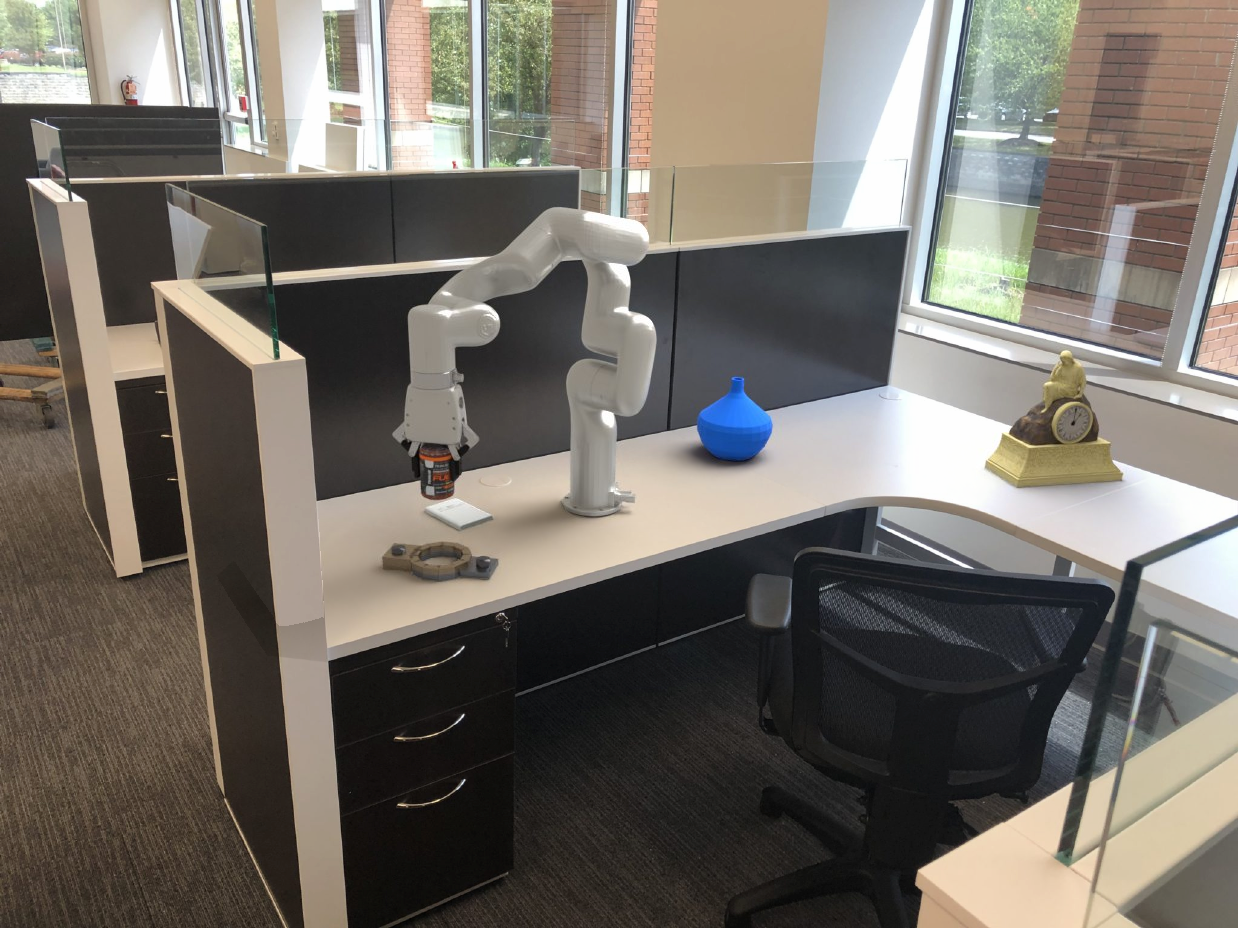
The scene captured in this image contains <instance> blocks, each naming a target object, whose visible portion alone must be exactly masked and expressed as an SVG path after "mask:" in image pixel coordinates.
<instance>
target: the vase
mask: <svg viewBox="0 0 1238 928" xmlns="http://www.w3.org/2000/svg"><path fill="white" fill-rule="evenodd" d="M730 383H731V386H730V389H729V392H728V393H727V394H725V395H724V396H723V397H721V398H720V399H718V400H716V401H714V403H712V404H710V405H708V406H707V407H706V408H703V409H702V410H701V411H700V412H699V414H698V416H697V418H696V429H697V432H698V436H699V439H700V441H701V443H702V445H703V446H704V447H705V449H706V450H707V451H708V452H710V454H712V455H713V456H714V457H716V458H718V459H721V460H725V461H727V460H728V461H745V460H749V459H751V458H753V457H754V456H756V455H758V454H759V453H760V452H761V451H762V450H763V449H764V448H765V447H766V445H767V443H768V441H769V440H770V438H771V435H772V434H773V427H774V426H773V425H774V423H773V421H772V417H771V415H769V414H768V413H767V411H765V410H764V409H762V408H761V407H760V406H759V405H757V404H756V403H755V401H753V400H752V399H750V397H748V396H747V394H746V393H745V390H744V385H745V378H743V377H740V376H734V377H732V378H731V382H730Z"/></svg>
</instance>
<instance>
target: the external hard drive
mask: <svg viewBox="0 0 1238 928" xmlns="http://www.w3.org/2000/svg"><path fill="white" fill-rule="evenodd" d="M424 513H427V514H428V515H429V516H432V517H434V518H436V519H437V520H439V521H442V523H446V524H447V525H449V526H451V527H453V528H454V529H457V530H459V531H464V530H467V529H470V528H473V527H475V526H477V525H481V524H484V523H487V522H491V521H493V520H494V515H493V514H490V513H488V512H486V511H484V510H482V509H479V508H477V507H475V506H473V505H472V504H470V503H467V502H465V501H463V500H461V499H459V498H456V497H454V498H451V499H448V500H445V501H441V502H439V503H435V504H432V505H429V506H425V508H424Z"/></svg>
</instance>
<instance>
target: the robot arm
mask: <svg viewBox="0 0 1238 928" xmlns="http://www.w3.org/2000/svg"><path fill="white" fill-rule="evenodd" d="M649 247H650V236H649V233H648V231H647V228H645V226H644V225H643V224H642V223H641V222H640V221H638V220H634V219H630V218H625V217H618V216H613V215H607V214H605V213H604V214H603V213H599V212H595V211H593V210H592V211H591V210H583V209H576V208H569V207H561V206H557V207H551V208H548V209H546V210H544V211H543V212H541V214H539V216H538V217H536V218H535V220H533V221H532V222H531V224H529V225H528V226H527V227H526V228H525V229H523V231H522V232H521V233H520V234H519V235H518V236H517V237H516V238H515V239H514V240H513V241H512V242H511V243H510V244H509V245H507V247H506V248H505V249H503V250H502V251H500V252H499V253H497V254H495V255H493V256H490V257H487V258H485V259H484V260H481V261H479V262H477V263H475V264H473V265H471V266H468V267H466V268H464V269H463V270H461V271H459V272H458V273H456V274H454V275H453V277H451V278H449V280H447V282H446V283H444V284H443V285H442V286H441V287H440V288H439V289H438V291H437V292H435V294H434V295H433V296H432V297H431V299H430V300H429V302H428V303H427V304H421V305H417V306H414V307H412V308H411V309H409V312H408V315H407V325H408V343H409V344H408V345H409V348H408V349H409V366H410V383H409V384H408V386H407V389H406V395H405V396H406V397H405V405H404V421H403V422H402V423H401V424H400V425H399V426H398V427H397V428H396V429H395V430H394V431H393V432H392V437H393V438H394V439H395V440H396V441H397V442H398V443H399V444H400V445H401V447H402V448H403V449H405V450H406V452H407V454H408V456H410V457H411V459H410V461H411V471H412V472H414V474H413V475H414V476H413V477H414V478H415V479H420V455H419V452H420V448H421V447H422V446H423V444H425V443H436V444H443V445H448V447H449V450H450V452H451V454H452V459H451V460H450V473H451V480H452V481H454V482H456V481H457V480H458V479H459V478H460V476H462V474H463V460H462V459H463V456H464V455H465V454H466V453H468V452H469V450H471V449H472V448H473V447H474V446H475V445H476V444H478V442H480V437H479V436H478V435H477V434H476V432H474V431H473V429H471V427H470V426H469V425H468V421H467V420H468V419H467V413H466V412H467V411H466V405H465V403H466V402H465V399H464V398H465V397H464V394H463V389H462V385H460V384H458V383H463V382H464V378H465V376H464V374H463V373H459V372H458V370H457V367H456V348H457V347H458V348H459V347H479V346H480V347H481V346H484V345H486V344H489V343H490V342H492V341H493V340H494V339H495V338H496V337H497V336H498V334H499V332H500V328H501V319H500V316H499V314H498V313H497V311H496V310H495V309H494V308H493V307H492V306H491V305H488V304H487V303H485V302H487V301H488V300H492V299H494V298H497V297H498V298H499V297H502V296H509V295H514V294H520V293H523V292H528V291H531V290H533V289H534V288H536V287H537V286H538V285H539V284H540V283H541V282H542V281H543V280H544V279H545V278H546V277H547V276H548V275H549V274H550V273H551V272H552V271H553V270H554V269H555V268H556V267H557V266H558V264H560V263H561V262H562V260H564V259H565V258H567V257H571V258H577V259H581V261H582V263H583V266H584V268H585V270H586V275H587V292H586V299H585V305H584V312H583V319H582V327H581V342H582V344H583V346H584V347H585V349H587V350H589V351H591V352H593V353H597V354H600V355H604V356H607V357H610V358H611V357H612V358H616V359H617V363H616V364H615V363H612V362H608V361H605V360H600V359H595V358H584V359H580V360H577V361H576V362H575V363H573V364H572V365H571V367H570V368H569V370H568V373H567V375H566V378H565V379H566V380H565V381H566V382H565V384H566V394H567V398H568V399H567V400H568V404H569V411H570V458H569V459H570V460H569V461H570V463H569V464H570V465H569V467H570V468H569V469H570V470H569V471H570V473H569V474H570V475H569V481H570V482H569V493H567V494H565V496H563V498H562V506H563V508H564V509H565V510H566V511H568V512H570V513H572V514H576V515H578V516H579V515H580V516H584V517H601V516H602V517H603V516H608V515H611V514H614V513H616V512H618V511H619V510H620V509H621V508H622V506H623V503H629V504H635V503H636V493H632V490H630V489H621V488H620V487H619V482H618V481H617V482H616V467H617V465H616V464H617V437H618V427H617V421H616V416H615V415H617V416H621V417H632V416H635V415H637V414H638V413H639V412H640V411H642V408H643V407H644V405H645V403H646V401H647V398H648V395H649V390H650V385H651V378H652V374H653V373H652V372H653V367H654V362H655V355H656V350H657V348H656V347H657V331H656V327H655V325H654V323H653V321H652V320H651V319H650V317H648V316H646V315H645V314H642V313H639V312H635V311H630V310H629V304H630V297H631V296H630V295H631V285H632V284H631V282H632V281H631V277H630V272H629V269H628V267H631V266H635V265H637V264H639V263H640V262H641V261H642V260H643V259H644V258H645V257H646V255H647V254H648V251H649ZM463 438H466V439H467V441H466V442H465V443H464V444H463V445H462V443H461V439H463Z"/></svg>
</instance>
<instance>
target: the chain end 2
mask: <svg viewBox="0 0 1238 928" xmlns="http://www.w3.org/2000/svg"><path fill="white" fill-rule="evenodd" d="M442 557H443V558H452V559H453V558H454V559H455V560H457V561H458V560H460V559H461V557H462V556H461V555H459V554H457V553H455V552H449V551H437V552H431V553H428V554H426V555H424V556H422V557H421V558H420V559H419V560H420V561H422V562H425V561H428V560H431V559H435V558H442ZM498 566H499V558H495V557H490V556H488V555H479V556H473V555H472V561H471V563H470V564H469V566H468V567H467V568H465V569H463V570H460V571H458V572H456V573H451V574H444V575H432V574H423V573H421V572H418V571H416V570H414V569H412V567H411V572H410V573H411V575H412V576H415V577H417V578H419V579H421V580H423V581H433V582H434V581H435V582H443V581H450V580H456V579H458V578H461V577H462V578H470V579H471V578H472V579H481V580H482V579H484V580H490V579H491V578H492V576H493V575H494V573H495V571H496V569H497V568H498Z"/></svg>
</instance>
